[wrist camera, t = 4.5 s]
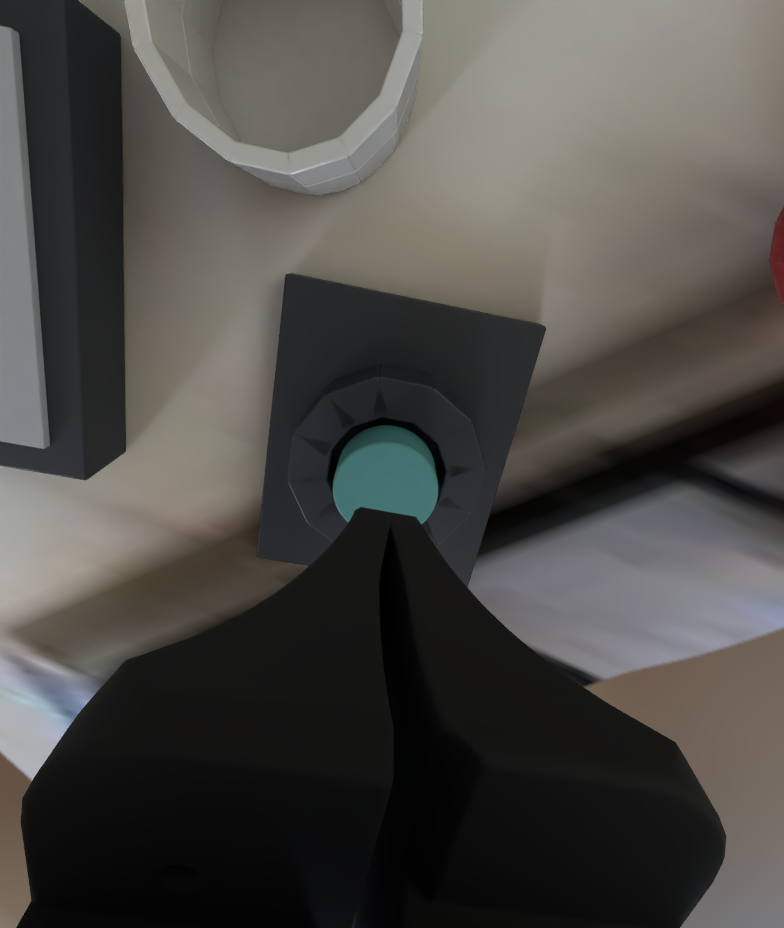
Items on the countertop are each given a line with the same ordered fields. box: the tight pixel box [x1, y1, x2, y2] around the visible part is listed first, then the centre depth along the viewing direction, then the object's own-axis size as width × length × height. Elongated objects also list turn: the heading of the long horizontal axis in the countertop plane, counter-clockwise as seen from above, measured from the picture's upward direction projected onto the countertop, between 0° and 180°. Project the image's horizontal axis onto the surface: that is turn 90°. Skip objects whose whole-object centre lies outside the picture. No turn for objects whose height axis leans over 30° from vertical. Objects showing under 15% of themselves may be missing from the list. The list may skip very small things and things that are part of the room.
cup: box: [124, 0, 423, 195], centre depth 11 cm, size 6×6×4 cm
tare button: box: [333, 425, 438, 524], centre depth 15 cm, size 3×3×2 cm
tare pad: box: [256, 273, 546, 587], centre depth 16 cm, size 10×8×2 cm
